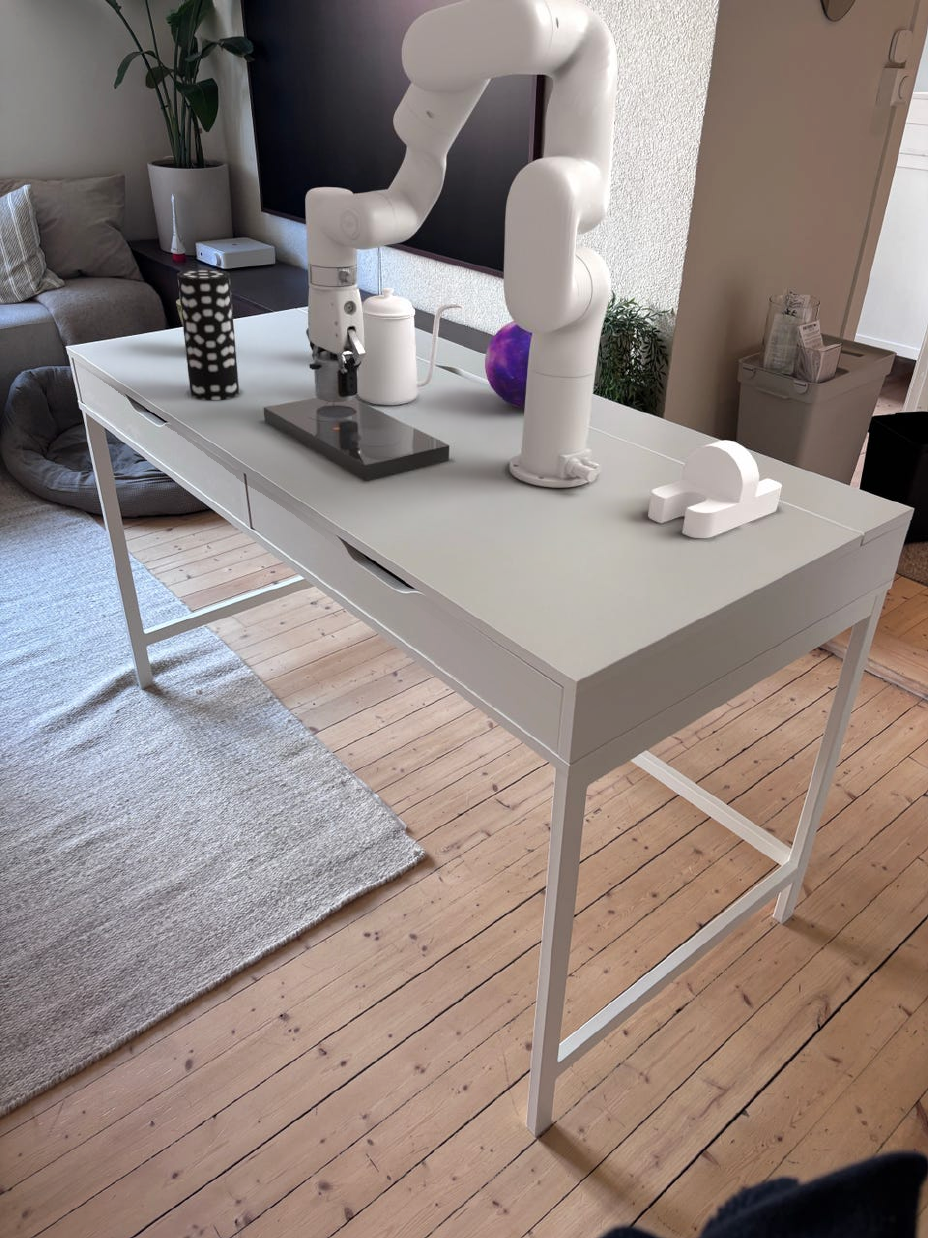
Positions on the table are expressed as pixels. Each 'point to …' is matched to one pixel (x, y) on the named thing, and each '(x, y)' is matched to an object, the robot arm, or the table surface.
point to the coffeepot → (392, 350)
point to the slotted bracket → (716, 492)
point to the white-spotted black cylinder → (209, 333)
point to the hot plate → (357, 436)
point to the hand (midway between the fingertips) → (335, 388)
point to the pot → (328, 377)
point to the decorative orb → (509, 363)
